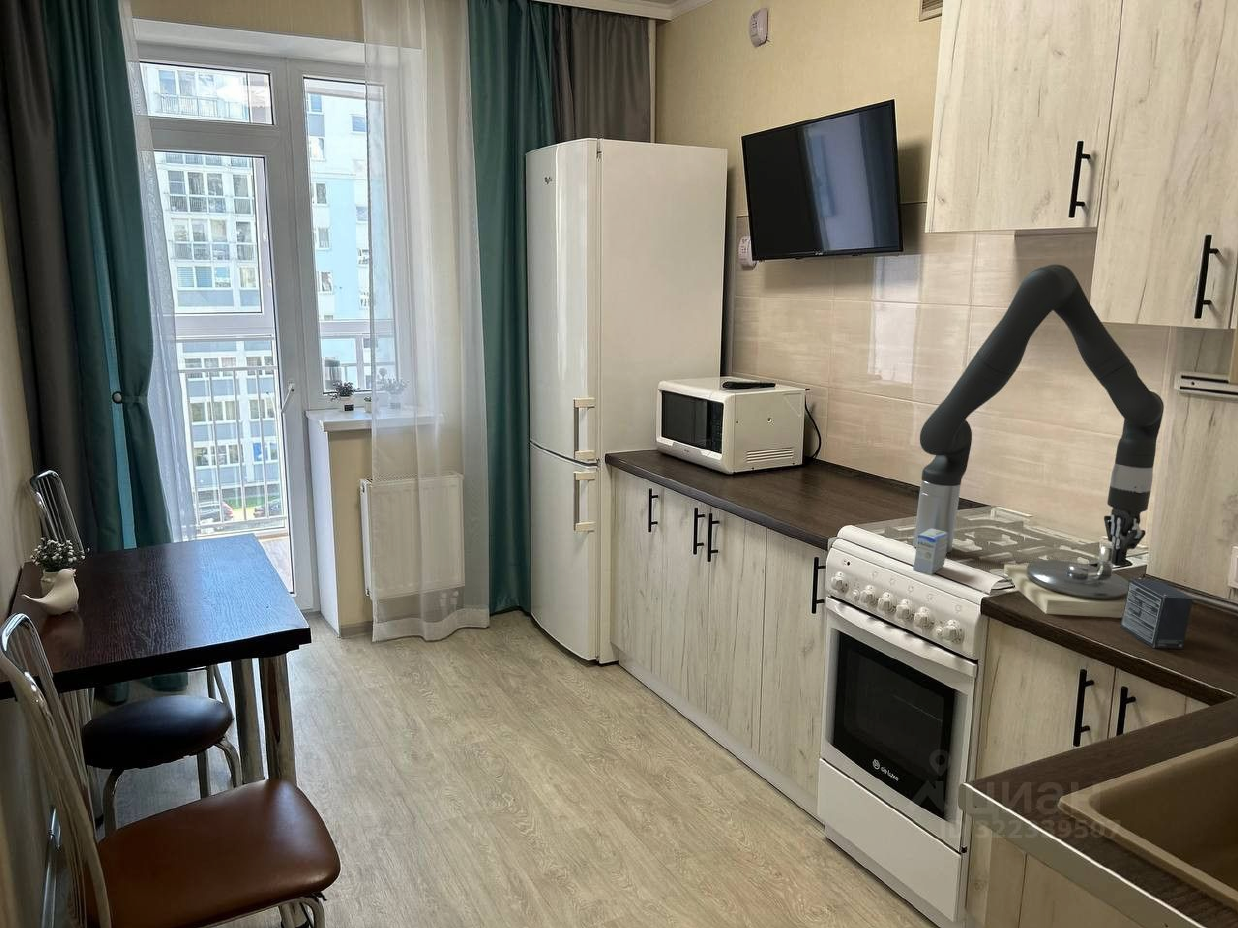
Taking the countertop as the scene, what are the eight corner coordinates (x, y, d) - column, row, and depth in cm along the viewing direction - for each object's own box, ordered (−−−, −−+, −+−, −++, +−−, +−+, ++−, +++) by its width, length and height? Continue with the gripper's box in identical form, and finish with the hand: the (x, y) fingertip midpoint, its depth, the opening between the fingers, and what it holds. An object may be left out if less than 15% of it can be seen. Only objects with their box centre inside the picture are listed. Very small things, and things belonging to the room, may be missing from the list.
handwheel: (1077, 602, 183) (1083, 567, 182) (1005, 569, 202) (1010, 537, 200) (1151, 595, 190) (1157, 561, 188) (1075, 564, 208) (1080, 532, 207)
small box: (1185, 650, 171) (1196, 597, 169) (1153, 649, 171) (1163, 597, 168) (1149, 627, 182) (1159, 578, 179) (1118, 627, 181) (1127, 577, 179)
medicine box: (925, 562, 215) (930, 527, 213) (944, 567, 212) (949, 532, 210) (912, 570, 209) (917, 534, 207) (931, 575, 206) (936, 539, 204)
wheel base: (1002, 576, 207) (1004, 564, 207) (1098, 582, 207) (1100, 569, 207) (1045, 613, 186) (1048, 600, 185) (1152, 619, 186) (1155, 605, 185)
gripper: (1096, 478, 197) (1085, 555, 200) (1128, 492, 184) (1115, 574, 187) (1131, 480, 197) (1119, 556, 200) (1166, 494, 184) (1152, 576, 187)
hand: (1117, 565), depth 194 cm, fingers closed
